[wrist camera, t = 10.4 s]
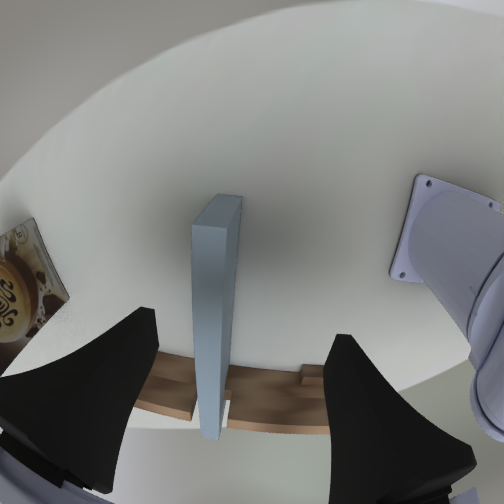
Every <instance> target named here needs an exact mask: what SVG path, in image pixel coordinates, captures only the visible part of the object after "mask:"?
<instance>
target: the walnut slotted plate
mask: <svg viewBox="0 0 504 504" xmlns="http://www.w3.org/2000/svg"><path fill="white" fill-rule="evenodd" d="M323 367H324V366H319V365H303V366H302V369H301V371H300V373H298V372H285V371H274V370H265V369H256V368H248V367H240V366H233V365H229V367H228V372H227V377H226V382H225V391H224V400H231V401H230V407H229V413H228V419H227V428H232V429H240V430H248V431H258V432H269V433H285V434H330V428H329V422H328V415H327V409H326V402H325V396H324V386H323ZM197 397H198V396H197V384H196V370H195V359H191V358H186V357H181V356H176V355H171V354H167V353H162V352H158V351H157V354H156V358H155V360H154V363H153V366H152V368H151V371H150V373H149V375H148V377H147V379H146V381H145V383H144V385H143V387H142V389H141V391H140V394H139V396H138V398H137V400H136V402H135V404H134V406H133V407H136V408H140V409H143V410H147V411H150V412H154V413H157V414H161V415H165V416H169V417H173V418H178V419H182V420H187V421H191V420H192V416H193V412H194V409H195V405H196V401H197Z"/></svg>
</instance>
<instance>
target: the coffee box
mask: <svg viewBox="0 0 504 504" xmlns="http://www.w3.org/2000/svg"><path fill="white" fill-rule="evenodd" d="M68 300H69V297H68V295H67V293H66V291H65V289H64V287H63V285H62V283H61V281H60V279H59V277H58V275H57V273H56V271H55V269H54V267H53V265H52V263H51V260H50V258H49V256H48V254H47V251H46V249H45V247H44V244H43V242H42V239H41V237H40V234H39V232H38V229H37V226H36V223H35V221H34V219H33V218H32V219H30V220H28V221H26V222H24V223H22V224H20V225H19V226H17V227H15V228H13V229H12V230H10V231H8V232H6V233H5V234H3V235H1V236H0V377H1V375H2V374H3V373H4V372H5V370H6V369H7V368H8V366H9V365H10V364H11V363H12V362H13V360H14V359H15V358H16V357H17V355H18V354H19V353H20V352H21V351H22V350H23V348H24V347H25V346H26V345H27V344H28V343H29V341H30V340H31V339H32V338H33V337H34V336H35V335H36V334H37V332H38V331H39V330H40V329H41V328H42V327H43V326H44V325H45V324H46V323H47V321H48V320H49V319H50V318H51V317H52V316H53V315H54V314H55V313H56V312H57V311H58V310H59V309H60V308H61V307H62V306H63V305H64V304H65V303H66V302H67V301H68Z"/></svg>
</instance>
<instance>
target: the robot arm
mask: <svg viewBox="0 0 504 504" xmlns="http://www.w3.org/2000/svg"><path fill="white" fill-rule="evenodd" d="M428 180H429V185H428V186H426V182H427V181H428ZM489 203H490V205H489ZM500 208H501V206H500V203H499V202H497V201H495V200H492V199H490V198H488V197H485V196H483V195H480V194H478V193H475V192H473V191H470V190H467V189H465V188H462V187H459V186H456V185H454V184H451V183H448V182H445V181H442V180H439V179H436V178H433V177H430V176H427V175H423V174H419V175H418V176H417V177H416V179H415V184H414V189H413V193H412V197H411V202H410V206H409V210H408V213H407V217H406V221H405V225H404V228H403V232H402V235H401V239H400V242H399V245H398V249H397V252H396V255H395V258H394V261H393V264H392V267H391V270H390V277H391V278H392V279H393V280H398V281H407V282H416V283H425V284H426V285H427V286H428V287H429V288H430V290H431V291H432V292H433V293H434V295H435V296H436V297H437V299H438V300H439V301H440V303H441V304H442V305H443V307H444V308H445V309H446V311H447V312H448V313H449V315H450V316H451V317H452V319H453V320H454V322H455V323H456V324H457V326H458V327H459V329H460V330H461V332H462V333H463V335H464V336H465V338H466V339H467V341H468V342H469V343H470V346H471V352H470V355H469V357H468V358H469V360H470V361H471V363H472V365H473V367H474V368H475V370H476V373H475V375H474V377H473V380H472V383H471V387H470V404H471V408H472V412H473V414H474V417H475V419H476V421H477V422H478V424H479V425H480V427H481V428H482V429H483V430H484V431H485V432H486V433H487V434H488V435H489V436H490V437H492V438H493V439H495V440H498V441H500V442H504V215H502V214H501V213H499V212H500ZM402 272H403V275H401V276H400V273H402ZM158 348H159V341H158V334H157V326H156V318H155V310H154V309H150V308H145V307H139V308H138V309H137V310H135V311H134V312H132V313H131V314H130V315H128V316H127V317H126V318H124V319H123V320H122V321H120V322H119V323H117V324H116V325H115V326H113V327H112V328H110V329H109V330H108V331H106V332H105V333H103V334H102V335H100V336H99V337H97V338H96V339H94V340H93V341H91V342H90V343H88V344H86V345H85V346H83V347H82V348H80V349H78V350H76V351H74V352H73V353H71V354H69V355H67V356H65V357H63V358H61V359H58V360H56V361H54V362H51V363H49V364H46V365H44V366H42V367H39V368H36V369H33V370H30V371H26V372H23V373H19V374H15V375H10V376H5V377H0V427H1V428H2V429H3V432H2V434H0V502H1V503H2V504H114V503H112V502H109V501H107V500H104V499H102V498H100V497H98V496H95V495H93V494H91V493H89V492H87V491H85V490H83V487H84V488H86V489H89V490H92V489H93V490H96V491H98V492H100V493H103V494H108V493H111V492H112V490H113V482H114V475H115V469H116V464H117V460H118V455H119V451H120V446H121V443H122V439H123V435H124V432H125V428H126V426H127V422H128V419H129V416H130V414H131V411H132V409H133V406H134V404H135V402H136V400H137V398H138V396H139V394H140V391H141V389H142V387H143V385H144V383H145V381H146V379H147V377H148V375H149V373H150V371H151V368H152V366H153V363H154V360H155V358H156V354H157V351H158ZM323 386H324V396H325V402H326V409H327V415H328V422H329V428H330V435H331V484H330V495H329V503H328V504H480V503H479V498H478V494H477V490H476V487H473V488H471V489H469V490H467V491H465V492H463V493H461V494H459V495H457V496H455V497H453V498H451V499H449V498H448V494H449V493H451V492H452V488H451V484H453V483H455V482H456V481H458V480H459V479H461V478H462V477H464V476H465V475H467V474H468V473H469V472H471V471H472V470H473V469H474V468H475V467H476V465H477V462H476V459H475V456H474V453H473V450H472V447H471V446H470V445H468V444H466V443H464V442H462V441H460V440H458V439H456V438H454V437H453V436H451V435H449V434H448V433H446V432H444V431H443V430H441V429H440V428H438V427H437V426H435V425H434V424H433V423H431V422H430V421H429V420H427V419H426V418H425V417H423V416H422V415H421V414H420V413H418V412H417V411H416V410H415V409H414V408H413V407H412V406H411V405H410V404H409V403H407V402H406V401H405V400H404V399H403V398H402V397H401V396H400V395H399V394H398V393H397V392H396V391H395V389H394V388H393V387H392V386H391V385H390V384H389V383H388V382H387V380H386V379H385V378H384V377H383V376H382V374H381V373H380V372H379V371H378V369H377V368H376V367H375V366H374V364H373V363H372V362H371V360H370V359H369V358H368V356H367V355H366V354H365V353H364V351H363V350H362V348H361V347H360V346H359V344H358V343H357V342H356V340H355V339H354V338H353V337H352V335H347V334H337V335H336V337H335V340H334V342H333V345H332V347H331V350H330V352H329V355H328V357H327V360H326V362H325V365H324V367H323Z"/></svg>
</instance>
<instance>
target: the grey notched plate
mask: <svg viewBox="0 0 504 504" xmlns="http://www.w3.org/2000/svg"><path fill="white" fill-rule="evenodd" d="M241 204H242V197H241V196H231V195H221V194H217V195H216V197H215V198H214V199H213V200H212V201H211V202H210V204H209V205H208V206H207V207H206V208H205V209H204V211H203V212H202V213H201V214H200V215H199V217H198V218H197V219H196V220H195V221H194V223H193V224H192V312H193V336H194V355H195V370H196V384H197V396H198V407H199V417H200V427H201V435H202V437H204V438H210V439H216V440H219V437H220V432H221V426H222V420H223V415H224V409H225V404H226V400H224V391H225V382H226V377H227V372H228V367H229V361H230V346H231V331H232V317H233V303H234V290H235V277H236V264H237V251H238V239H239V227H240V215H241Z"/></svg>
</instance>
